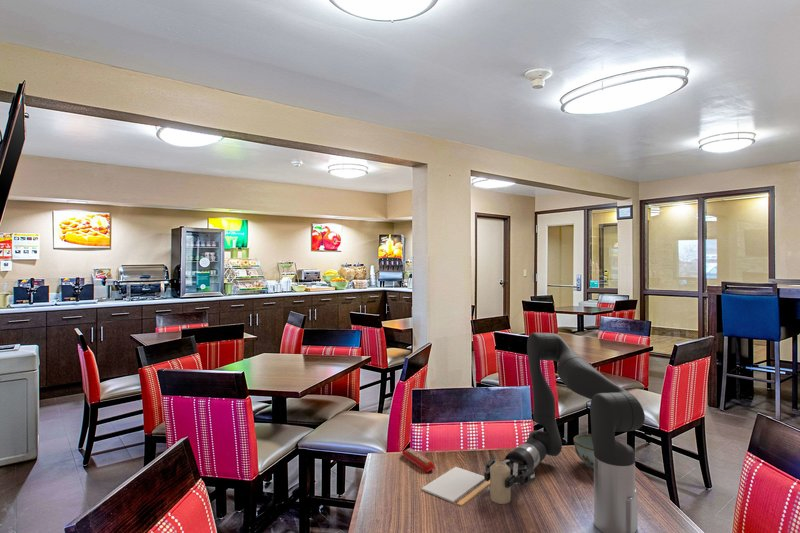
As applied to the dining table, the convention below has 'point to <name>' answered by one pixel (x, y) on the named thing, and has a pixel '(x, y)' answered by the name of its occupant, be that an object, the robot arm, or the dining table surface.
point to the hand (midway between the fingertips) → (496, 480)
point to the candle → (499, 483)
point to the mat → (453, 484)
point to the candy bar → (418, 460)
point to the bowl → (585, 449)
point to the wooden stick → (473, 493)
